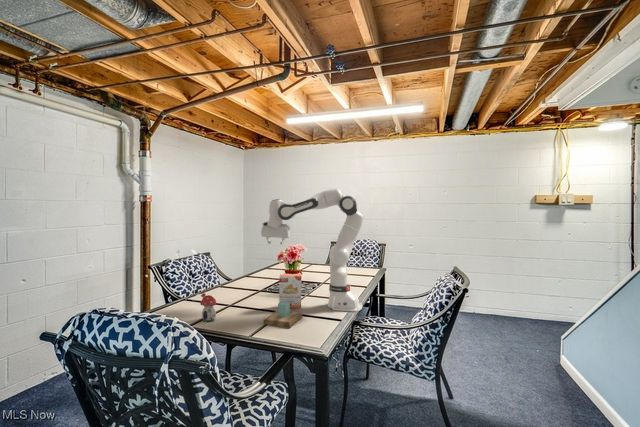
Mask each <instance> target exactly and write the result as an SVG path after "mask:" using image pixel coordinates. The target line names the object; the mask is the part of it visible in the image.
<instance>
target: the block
mask: <svg viewBox="0 0 640 427" xmlns="http://www.w3.org/2000/svg"><path fill="white" fill-rule="evenodd" d="M277 310H278V316H281V317H287V316H288V315H289V314H290V311H291V308H290V302H285V301H281V302H280V303H277Z"/></svg>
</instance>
